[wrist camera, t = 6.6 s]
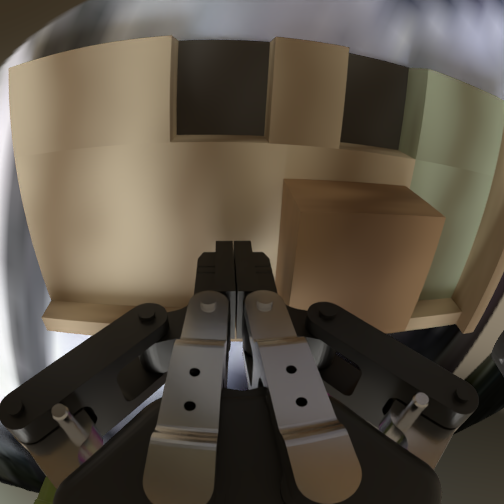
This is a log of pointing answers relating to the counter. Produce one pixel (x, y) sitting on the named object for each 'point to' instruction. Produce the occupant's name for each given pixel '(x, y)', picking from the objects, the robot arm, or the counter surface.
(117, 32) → the counter surface
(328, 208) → the walnut block
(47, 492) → the plant pot
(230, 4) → the counter surface
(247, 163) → the box
